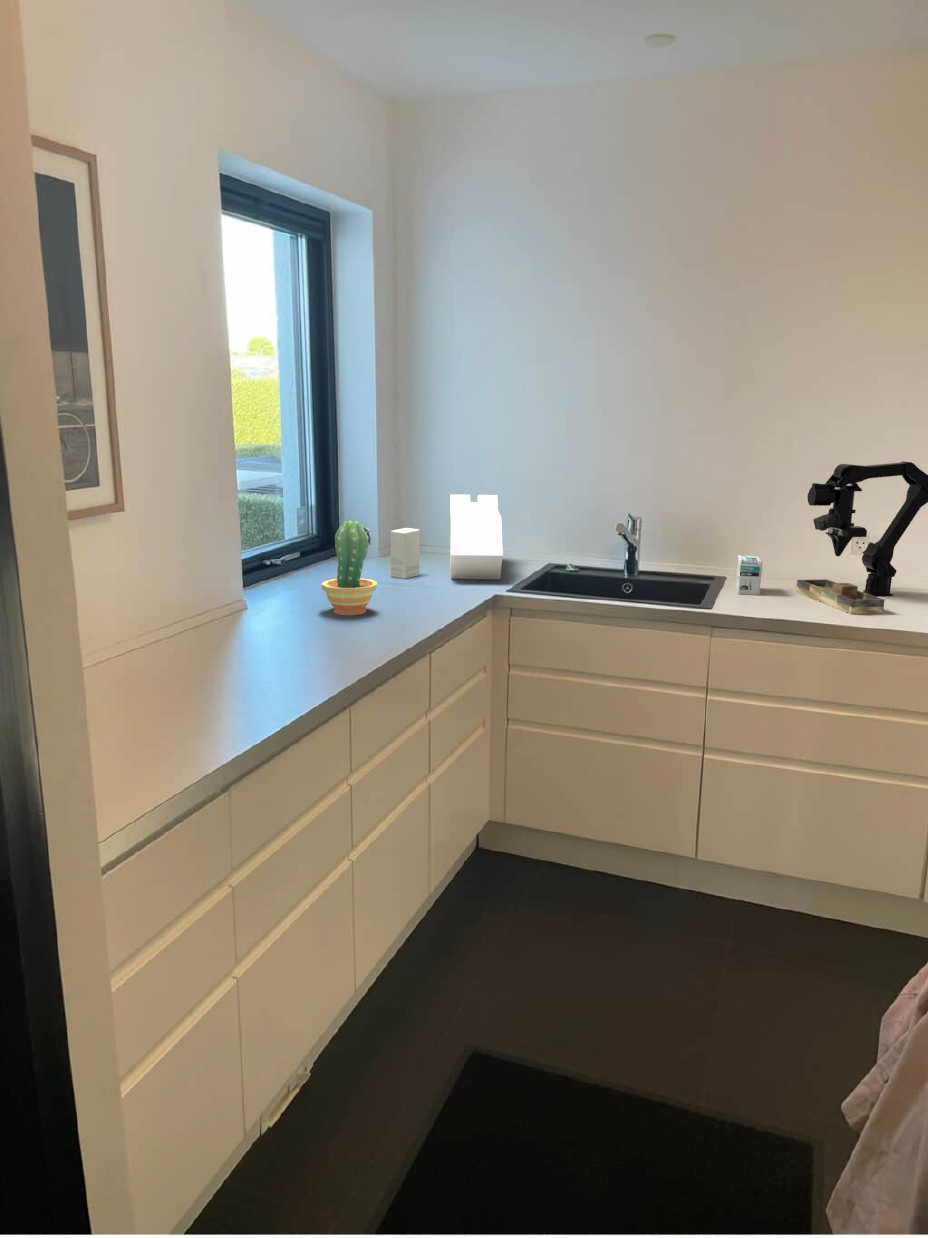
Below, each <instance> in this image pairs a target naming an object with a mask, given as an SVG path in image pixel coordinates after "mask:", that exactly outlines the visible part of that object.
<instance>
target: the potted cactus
mask: <svg viewBox="0 0 928 1238" xmlns="http://www.w3.org/2000/svg"><path fill="white" fill-rule="evenodd" d="M372 539H373V535H372V533H371V530H370V528H368V527H367V526H365V525H364V524H361V523H360V521H357V520H356V521H354V522H353V521H352V520H348V521H343V522H342V524H341V525H340V526H339V528H338V529H337V531H336V533H335V535H334V543H335V544H334V545H335V553H336V557H337V575H336V578H331V579H328V580H325V581H323V582H322V583H321V588H322V590H323V591H324V593H325V594H326V597H327V599H328V602H329V603H330V604H331V606H332V607H333V609H334V610H333V613H335V614H337V615H339V616H341V615H343V616H357V615H362V614H365V613H367V609H366V608H367V606H368V605H369V603H370V601H371V598H372V596H373V593H374V591H376V590H377V589H376V588H377V586H378V581H375V580H373V579H370V578H369V579H367V578H361V574H362V571H363V566H364V562H365V560H366V557H367V556H368V553H369V551H368V549H369V546H372Z"/></svg>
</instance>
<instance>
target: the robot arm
mask: <svg viewBox="0 0 928 1238" xmlns="http://www.w3.org/2000/svg"><path fill="white" fill-rule="evenodd" d="M898 476H901V477H902V479H903V480H904V482H906V484H907V485H909V486H908V488H907V491H906V496H905V501H904V502H903V503H902V506H901V507H900V508H899V510H898V511H897V513H896V514H895V516H894V518H893V519H892V520H891V522H890V524H889V525H888V527H887V528H886V530H885V532H884V533H883V534H882V536H881V538H880V539H879V540H878V541H876V542H871V541H870V542H869V543H868V544H867V546H866V548H865V550H864V551H862V552H861V553H862V554H863V555H862V557H861V563H862V565H863V566H864V567H865V571H866V572H867V573H868V574H867V578H866V580H865V588H864V589H863V591H862V592H864V593H867V594H870V595H872V596H875V597H879V596H881V597H882V596H884V597H885V596H894V593H891V589H892V588H891V587H892V580H893V578H894V577H895V576H896V574H897V569H896V568H895V567H894V566H893V565H892V564H891V562H892V559H893V557H894V550H895V547H896V545H897V544H898V542H899V541H900V539H902V537H903V534H904V533H905V531H907V529H908V528H909V526H910V524H911V523H912V522H913V520H914V519H915V517H916V515H917V514H918V512H919V511H920V509H921V508H922V507H923V506H925V505H927V503H928V474H927V473H926V472H924V471H923V470H921V468H919V467H918V466H917V465H916V464H915V463H913V462H912V461H899V462H890V463H881V464H870V465H860V464H849V463H841V464H838V465H837V466H835V468H834V470H833V474H831V476H830V477H829V478H828V479H827V481H826V482H825V483H817V482H813V483H811V487H810V488H809V490H808V493H807V502H808V505H809V506H811V507H812V506H813V507H815V506H818V507H822V506H824V507H826V506H827V507H829V506H831V505H832V507H830V508H829V509H828V512H827V513H826V514H823V515H820V516H818V517H815V518H813V525H814V528H815V530H819V531H821V532H823V531H826V530H827V531H826V532H825V534H826V535H827V536H828V537H829V538H830V539H831V542H832V546H833V551H834V555H835V557H841V556H842V554H843V552H844V550H845V549H846V547H847V546H848V545H849V543H850V542H851V541H852V539H853V538H866V537H867V535H868V534H867V533H868V529H866V527H863V526H858V525H855V523H854V522H852V521H853V520H852V519H853V514H856V511H857V510H856V509H854V500H855V492H862V491H863V488H861V487H860V486H859V485H858V483H861V482H864V481H866V480H869V479H875V478H876V479H877V478H889V477H898Z"/></svg>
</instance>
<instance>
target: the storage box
mask: <svg viewBox="0 0 928 1238" xmlns="http://www.w3.org/2000/svg"><path fill="white" fill-rule="evenodd" d="M449 503H450V506H449V507H450V508H449V571H450V580H501V573H502V566H503V565H502V564H503V558H504V552H503V550H504V549H503V528H502V527H503V525H502V516H501V514H500V512H499V509H498V508H499V503H498V494H478V495H477V502H476V501H471V495H470V494H450V502H449Z"/></svg>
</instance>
